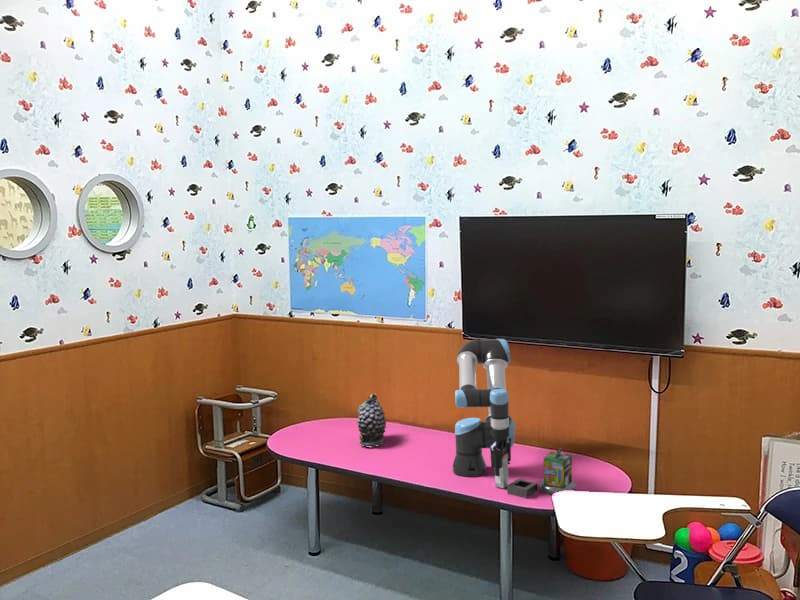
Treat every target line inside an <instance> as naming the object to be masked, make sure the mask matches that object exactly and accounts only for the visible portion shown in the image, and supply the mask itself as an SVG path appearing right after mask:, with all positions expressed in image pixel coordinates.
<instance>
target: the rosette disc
mask: <svg viewBox="0 0 800 600" xmlns="http://www.w3.org/2000/svg"><path fill="white" fill-rule="evenodd" d="M539 485H540V486H539V487H540V491H541V492H543V493H544V494H547V495H549V496H553V495H552V494H553V493H555V492H559V491H563V490H575V491H576V482H575V481H574V480H573V479H572V482H571V483H569V484H568V485H567V486H566V487H565V488H560V487H555V486H550V485H544V478H543V479H541V480H540V484H539Z"/></svg>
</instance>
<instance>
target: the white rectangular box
mask: <svg viewBox="0 0 800 600" xmlns="http://www.w3.org/2000/svg"><path fill="white" fill-rule="evenodd" d="M500 468H501V469H502V483H501V484H500V483H496V482H495V481H494V486H495V487H497V488H499V489H500V488H501V489H505V488H507V485H509V484H510V483H509V464H508V453H503V452H502V453H501V464H500Z"/></svg>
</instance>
